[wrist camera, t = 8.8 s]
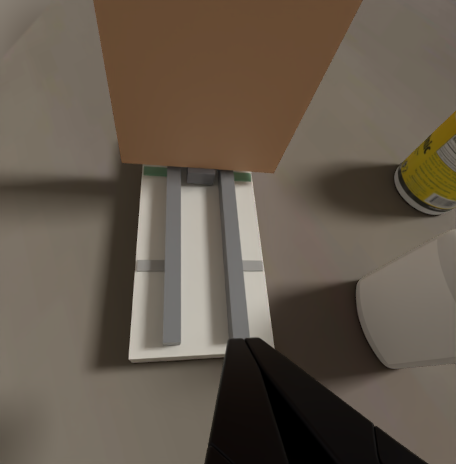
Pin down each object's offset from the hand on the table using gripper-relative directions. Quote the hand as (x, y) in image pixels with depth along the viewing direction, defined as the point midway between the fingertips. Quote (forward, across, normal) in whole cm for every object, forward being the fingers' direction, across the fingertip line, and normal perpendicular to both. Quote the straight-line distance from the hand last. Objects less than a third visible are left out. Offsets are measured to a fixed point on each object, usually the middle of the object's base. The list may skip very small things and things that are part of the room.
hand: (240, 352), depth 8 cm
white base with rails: (+12, 0, 0) cm, 12 cm away
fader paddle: (+13, 0, -4) cm, 13 cm away
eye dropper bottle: (+8, -12, +5) cm, 15 cm away
